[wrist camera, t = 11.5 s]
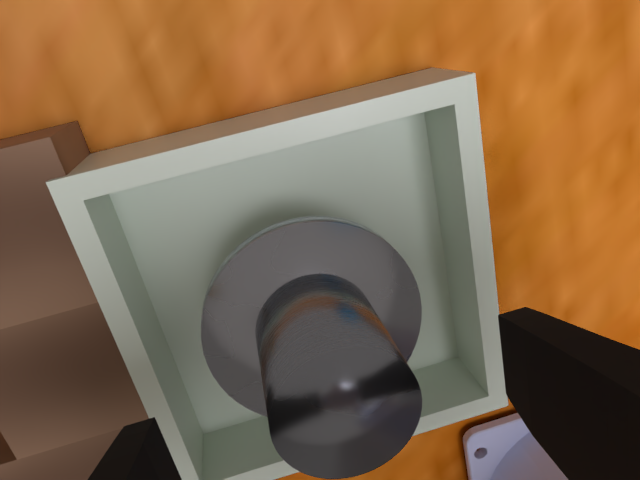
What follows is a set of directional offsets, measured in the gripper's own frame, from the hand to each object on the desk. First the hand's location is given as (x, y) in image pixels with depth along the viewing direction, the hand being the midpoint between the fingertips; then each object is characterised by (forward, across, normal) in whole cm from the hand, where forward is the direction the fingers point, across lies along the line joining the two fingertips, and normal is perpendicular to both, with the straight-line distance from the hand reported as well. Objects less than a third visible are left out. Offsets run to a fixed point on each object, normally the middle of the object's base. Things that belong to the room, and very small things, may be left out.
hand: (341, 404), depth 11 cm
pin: (+6, 0, 0) cm, 6 cm away
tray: (+6, 0, 0) cm, 6 cm away
